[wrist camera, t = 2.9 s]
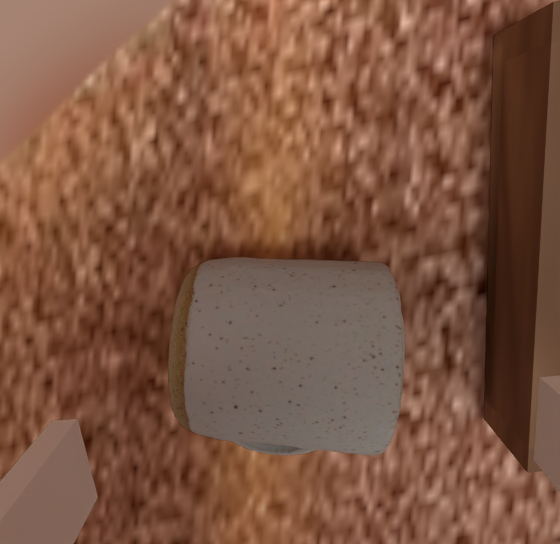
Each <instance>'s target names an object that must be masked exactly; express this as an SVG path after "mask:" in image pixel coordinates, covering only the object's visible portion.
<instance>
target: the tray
mask: <svg viewBox="0 0 560 544" xmlns="http://www.w3.org/2000/svg"><path fill="white" fill-rule="evenodd" d="M549 376H560V1H557V2H552V3H551V4H549V5H547V6H545V7H543V8H542V9H540V10H538V11H536V12H535V13H533V14H531V15H529V16H527V17H526V18H524V19H522V20H520V21H519V22H517V23H515V24H513V25H511V26H510V27H508V28H506V29H504V30H502V31H501V32H499V33H497V34H495V35H494V38H493V79H492V120H491V161H490V202H489V243H488V284H487V325H486V366H485V407H484V420H485V421H486V422H487V423H488V424H489V426H490V427H491V428H492V429H493V431H494V432H495V433H496V434H497V436H498V437H499V438H500V439H501V441H502V442H503V443H504V444H505V445H506V447H507V448H508V449H509V450H510V452H511V453H512V454H513V455H514V457H515V458H516V459H517V460H518V461H519V463H520V464H521V465H522V466H523V468H524V469H525V470H526V471H527V472H538V471H542V470H541V469H540V467H539V466H538V465H537V464H536V463H535V461H534V449H535V435H536V420H537V406H538V391H539V377H549Z"/></svg>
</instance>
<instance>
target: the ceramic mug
mask: <svg viewBox="0 0 560 544" xmlns="http://www.w3.org/2000/svg"><path fill="white" fill-rule="evenodd" d="M404 356H405V334H404V322H403V317H402V313H401V301H400V295H399V291H398V288H397V285H396V283H395V280H394V277H393V275H392V273H391V271H390V269H389V267H388V266H386V265H385V264H383V263H381V262H370V261H332V260H308V259H263V258H249V257H231V258H223V259H214V260H208V261H205V262H201V263H199V264H198V265H196V266H195V267H194V268H193V269H192V270H191V271H190V272H189V273H188V275H187V276H186V277H185V279H184V281H183V283H182V285H181V288H180V291H179V295H178V298H177V301H176V305H175V310H174V315H173V321H172V327H171V334H170V343H169V361H168V382H169V393H170V399H171V405H172V410H173V412H174V415H175V417H176V418H177V420H178V421H179V423H180V424H181V425H182V427H184V428H185V429H187V430H189V431H191V432H194V433H197V434H199V435H203V436H207V437H210V438H214V439H218V440H226V441H232V442H234V443H235V444H237V445H240V446H242V447H244V448H246V449H250V450H253V451H256V452H262V453H267V454H274V455H297V454H304V453H309V452H312V451H315V450H325V451H334V452H342V453H352V454H361V455H379V454H381V453H383V452H384V451H385V450H386V449H387V447H388V446H389V444H390V442H391V440H392V438H393V435H394V432H395V429H396V426H397V420H398V416H399V411H400V406H401V396H402V384H403V372H404Z"/></svg>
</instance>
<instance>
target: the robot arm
mask: <svg viewBox="0 0 560 544" xmlns="http://www.w3.org/2000/svg"><path fill="white" fill-rule="evenodd" d="M534 461H535V463H536V464H537V465H538V466H539V467H540V469H541V470H542V471H543V472H544V473H545V475H546V476H547V477H548V478H549V479H550V481H551V482H552V483H553V484H554V485H555V487H556V488H557V489H558V490H559V491H560V376H549V377H539V391H538V406H537V420H536V435H535V449H534ZM97 498H98V496H97V492H96V488H95V484H94V480H93V477H92V473H91V469H90V465H89V461H88V457H87V453H86V449H85V446H84V442H83V438H82V434H81V430H80V426H79V422H78V419H69V420H58V421H51V422H50V423H49V424H48V426H47V427H46V428H45V429H44V430H43V432H42V433H41V434H40V435H39V436H38V437H37V439H36V440H35V441H34V442H33V443H32V445H31V446H30V447H29V448H28V449H27V450H26V452H25V453H24V454H23V455H22V456H21V458H20V459H19V460H18V461H17V462H16V463H15V465H14V466H13V467H12V468H11V469H10V471H9V472H8V473H7V474H6V475H5V476H4V478H3V479H2V480H1V481H0V544H74V542H75V540H76V538H77V536H78V535H79V533H80V531H81V529H82V527H83V525H84V523H85V521H86V519H87V517H88V515H89V514H90V512H91V510H92V508H93V506H94V504H95V502H96V500H97Z"/></svg>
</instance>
